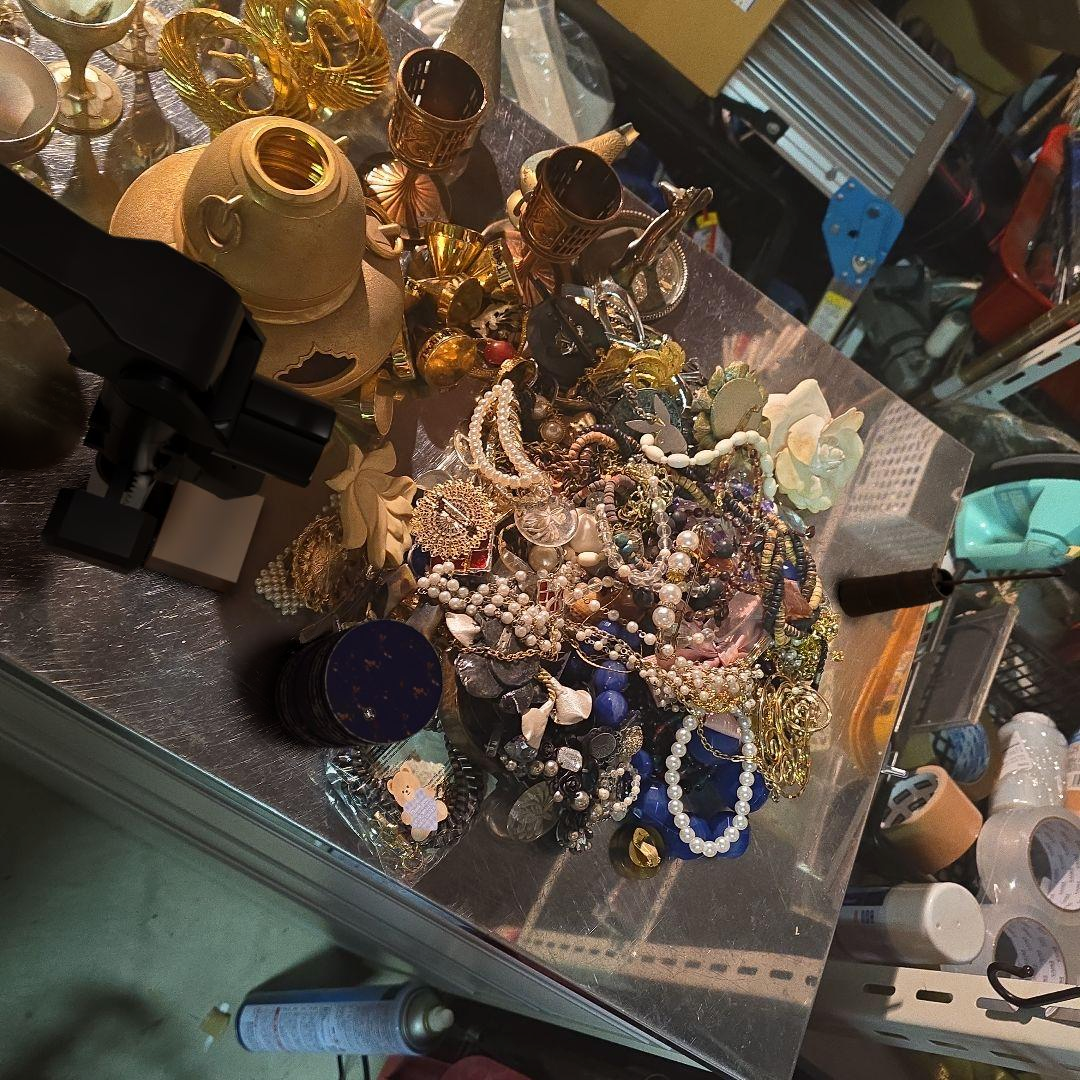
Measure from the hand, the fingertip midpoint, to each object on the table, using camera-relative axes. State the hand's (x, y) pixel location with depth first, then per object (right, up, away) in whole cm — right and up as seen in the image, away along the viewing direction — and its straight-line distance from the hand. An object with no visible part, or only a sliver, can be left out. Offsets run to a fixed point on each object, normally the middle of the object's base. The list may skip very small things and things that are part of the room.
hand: (124, 469), depth 69 cm
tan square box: (+2, -5, +10) cm, 12 cm away
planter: (-4, -2, +7) cm, 9 cm away
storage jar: (+13, -20, +13) cm, 27 cm away
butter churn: (+73, -13, +50) cm, 89 cm away
